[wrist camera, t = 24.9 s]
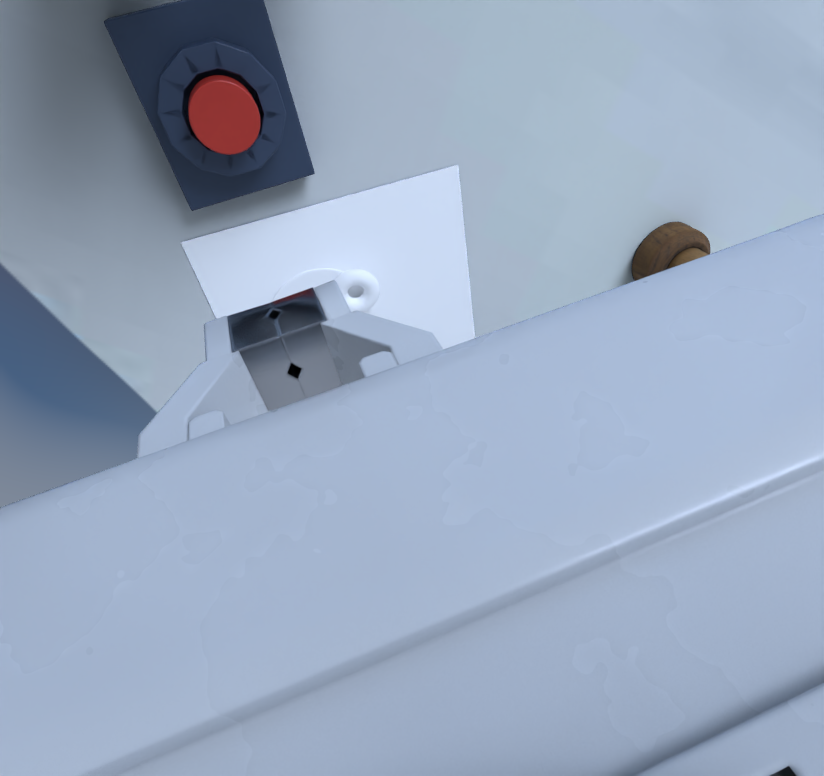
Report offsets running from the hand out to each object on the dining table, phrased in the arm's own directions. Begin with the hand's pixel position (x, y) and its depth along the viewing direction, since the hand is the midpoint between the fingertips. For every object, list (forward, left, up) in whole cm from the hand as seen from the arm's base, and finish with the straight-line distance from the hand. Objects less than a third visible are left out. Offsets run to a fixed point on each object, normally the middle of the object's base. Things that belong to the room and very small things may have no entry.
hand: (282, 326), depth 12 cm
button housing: (0, 0, -27) cm, 27 cm away
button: (0, 0, -24) cm, 24 cm away
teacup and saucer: (+18, +4, -27) cm, 32 cm away
